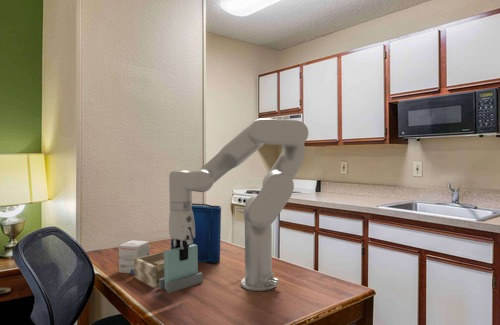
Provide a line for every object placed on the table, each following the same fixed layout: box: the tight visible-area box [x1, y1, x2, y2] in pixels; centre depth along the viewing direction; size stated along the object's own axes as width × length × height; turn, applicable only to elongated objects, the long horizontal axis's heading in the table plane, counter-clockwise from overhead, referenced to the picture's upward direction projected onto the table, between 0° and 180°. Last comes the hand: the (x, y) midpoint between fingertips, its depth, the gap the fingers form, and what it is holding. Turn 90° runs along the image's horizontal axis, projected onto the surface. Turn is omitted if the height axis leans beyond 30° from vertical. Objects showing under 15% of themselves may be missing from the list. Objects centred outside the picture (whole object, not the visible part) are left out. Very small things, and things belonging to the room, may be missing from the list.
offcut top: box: [153, 260, 164, 273], centre depth 123 cm, size 4×8×3 cm, turn 139°
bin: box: [134, 251, 164, 289], centre depth 125 cm, size 14×16×8 cm
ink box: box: [118, 239, 150, 275], centre depth 133 cm, size 9×8×12 cm
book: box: [170, 202, 222, 264], centre depth 145 cm, size 22×7×25 cm, turn 84°
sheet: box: [163, 244, 199, 291], centre depth 116 cm, size 2×12×13 cm, turn 135°
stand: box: [158, 271, 204, 295], centre depth 117 cm, size 9×15×4 cm, turn 135°
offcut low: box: [156, 272, 164, 283], centre depth 123 cm, size 4×10×4 cm, turn 135°
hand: (181, 258), depth 116 cm, fingers closed on sheet, 2 cm apart
